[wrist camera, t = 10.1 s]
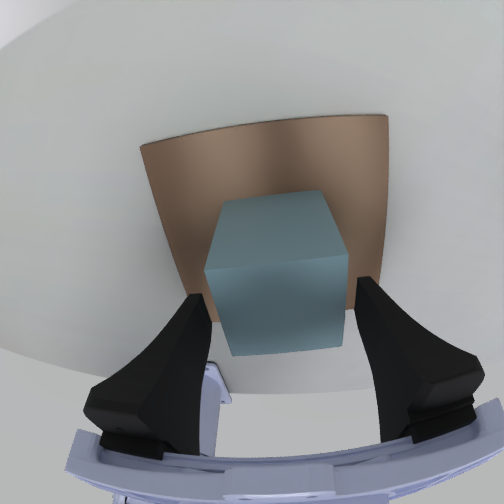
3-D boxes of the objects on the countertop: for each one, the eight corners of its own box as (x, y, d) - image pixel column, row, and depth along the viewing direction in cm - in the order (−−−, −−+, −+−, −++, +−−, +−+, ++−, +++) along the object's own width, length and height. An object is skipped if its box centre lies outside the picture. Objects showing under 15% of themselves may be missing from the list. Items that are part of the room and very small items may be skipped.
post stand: (198, 318, 23) (185, 380, 18) (142, 144, 16) (91, 180, 11) (373, 301, 22) (395, 362, 17) (384, 114, 14) (439, 138, 9)
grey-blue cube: (240, 277, 20) (232, 356, 14) (223, 201, 17) (204, 270, 11) (323, 268, 19) (342, 346, 14) (320, 189, 16) (348, 254, 11)
